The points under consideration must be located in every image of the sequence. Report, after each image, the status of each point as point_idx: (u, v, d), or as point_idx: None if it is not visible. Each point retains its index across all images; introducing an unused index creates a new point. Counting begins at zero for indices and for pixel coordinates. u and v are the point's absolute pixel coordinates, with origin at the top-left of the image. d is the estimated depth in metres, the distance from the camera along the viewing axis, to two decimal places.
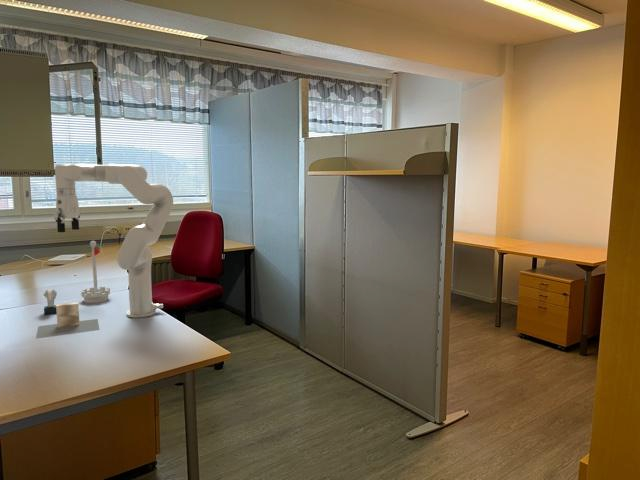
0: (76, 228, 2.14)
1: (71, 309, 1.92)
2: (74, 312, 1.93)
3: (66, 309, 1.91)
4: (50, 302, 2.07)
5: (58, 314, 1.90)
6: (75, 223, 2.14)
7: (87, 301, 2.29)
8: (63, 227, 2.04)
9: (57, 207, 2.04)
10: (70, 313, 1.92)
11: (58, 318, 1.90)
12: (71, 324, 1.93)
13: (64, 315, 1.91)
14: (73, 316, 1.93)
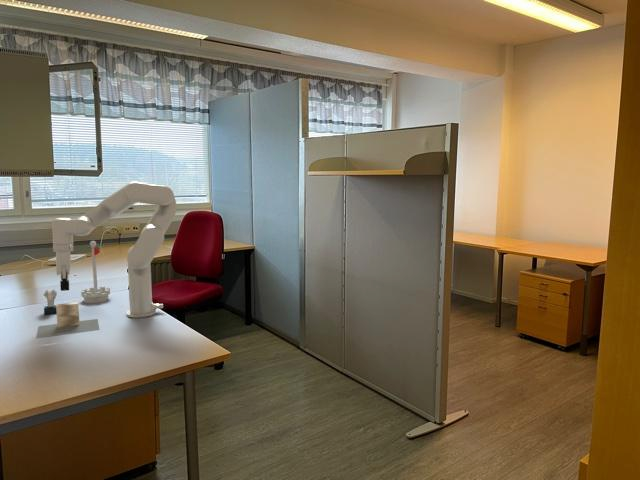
0: None
1: (71, 309, 1.92)
2: (74, 312, 1.93)
3: (66, 309, 1.91)
4: (50, 302, 2.07)
5: (58, 314, 1.90)
6: None
7: (87, 301, 2.29)
8: None
9: None
10: (70, 313, 1.92)
11: (58, 318, 1.90)
12: (71, 324, 1.93)
13: (64, 315, 1.91)
14: (73, 316, 1.93)
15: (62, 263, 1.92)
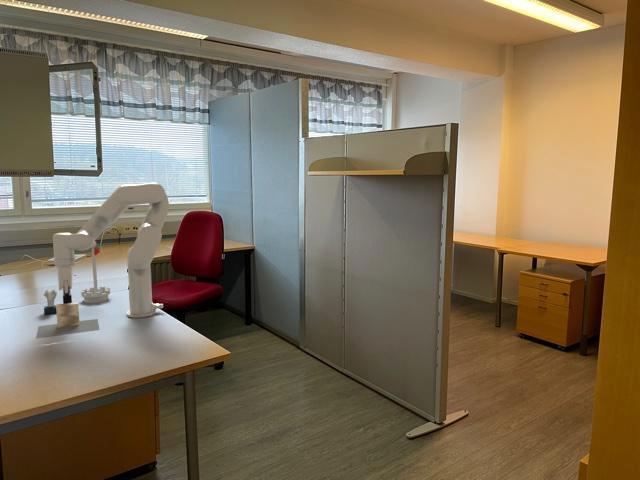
0: None
1: (71, 309, 1.92)
2: (74, 312, 1.93)
3: (66, 309, 1.91)
4: (50, 302, 2.07)
5: (58, 314, 1.90)
6: None
7: (87, 301, 2.29)
8: None
9: None
10: (70, 313, 1.92)
11: (58, 318, 1.90)
12: (71, 324, 1.93)
13: (64, 315, 1.91)
14: (73, 316, 1.93)
15: (64, 278, 1.92)
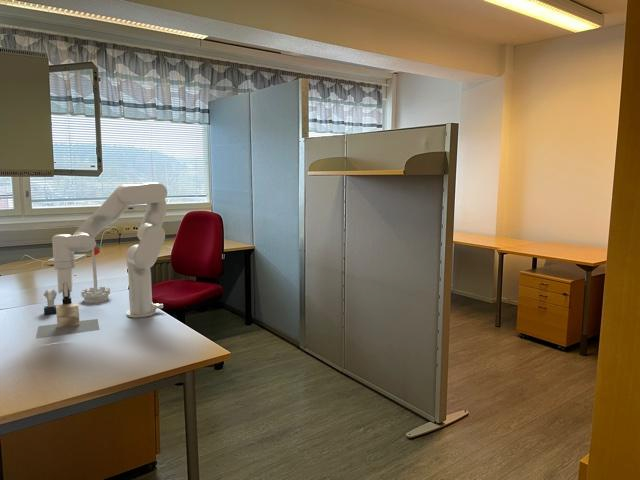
0: None
1: (71, 311, 1.90)
2: (74, 313, 1.91)
3: (66, 311, 1.90)
4: (50, 302, 2.07)
5: (58, 315, 1.89)
6: None
7: (87, 301, 2.29)
8: None
9: None
10: (70, 314, 1.91)
11: (58, 319, 1.89)
12: (71, 324, 1.93)
13: (64, 316, 1.90)
14: (73, 317, 1.92)
15: (63, 281, 1.87)
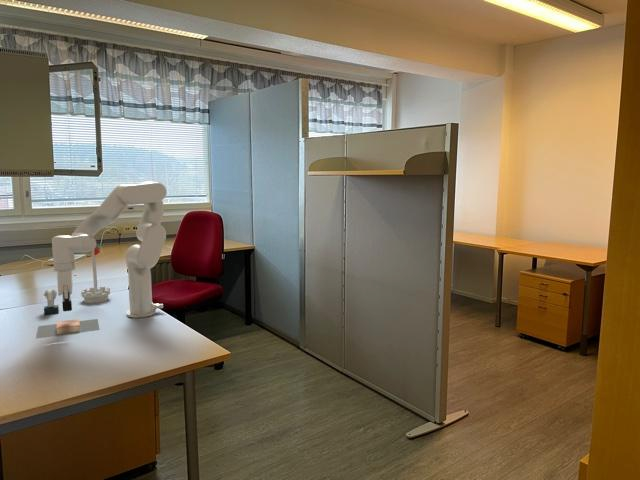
0: None
1: None
2: None
3: None
4: (50, 302, 2.07)
5: None
6: None
7: (87, 301, 2.29)
8: None
9: None
10: None
11: None
12: None
13: None
14: None
15: (64, 283, 1.83)
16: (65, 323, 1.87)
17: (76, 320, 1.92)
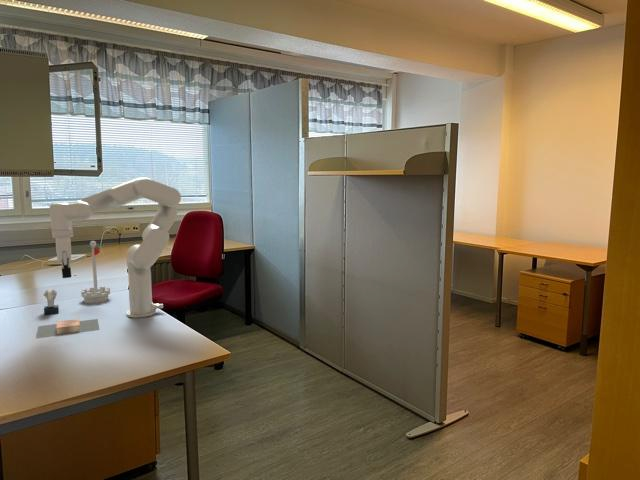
0: None
1: None
2: None
3: None
4: (50, 302, 2.07)
5: None
6: None
7: (87, 301, 2.29)
8: None
9: None
10: None
11: None
12: None
13: None
14: None
15: (62, 249, 1.86)
16: (65, 323, 1.87)
17: (76, 320, 1.92)
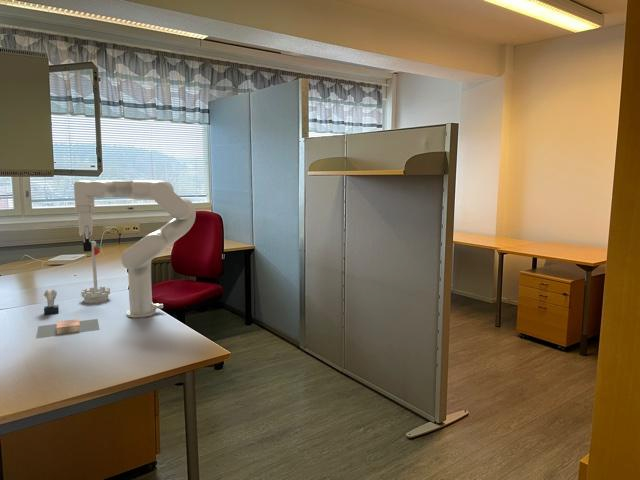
0: None
1: None
2: None
3: None
4: (50, 302, 2.07)
5: None
6: None
7: (87, 301, 2.29)
8: None
9: None
10: None
11: None
12: None
13: None
14: None
15: (85, 224, 1.99)
16: (65, 323, 1.87)
17: (76, 320, 1.92)
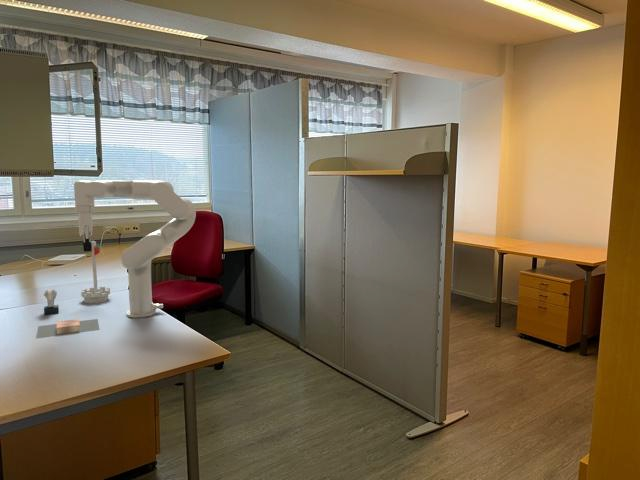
0: None
1: None
2: None
3: None
4: (50, 302, 2.07)
5: None
6: None
7: (87, 301, 2.29)
8: None
9: None
10: None
11: None
12: None
13: None
14: None
15: (85, 224, 1.99)
16: (65, 323, 1.87)
17: (76, 320, 1.92)
